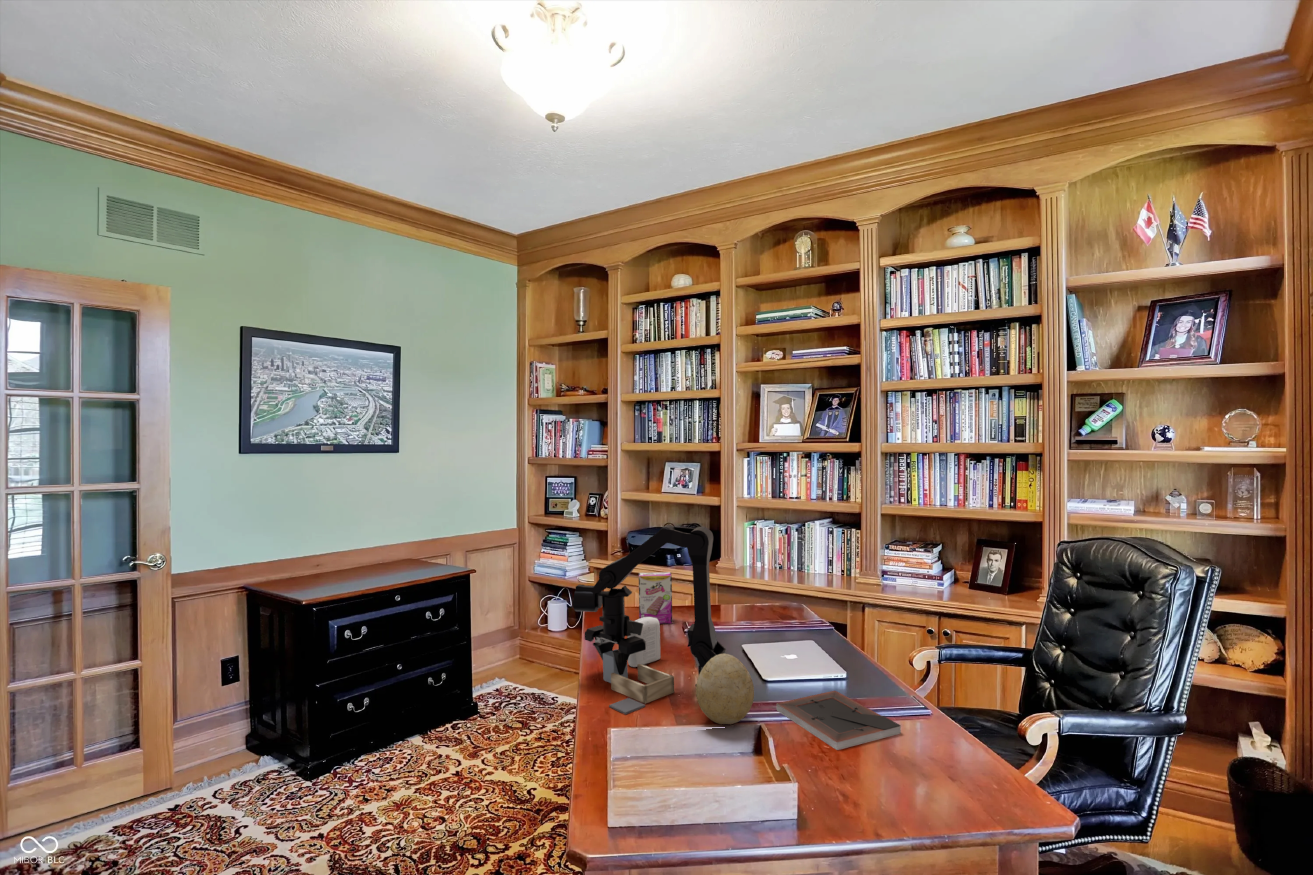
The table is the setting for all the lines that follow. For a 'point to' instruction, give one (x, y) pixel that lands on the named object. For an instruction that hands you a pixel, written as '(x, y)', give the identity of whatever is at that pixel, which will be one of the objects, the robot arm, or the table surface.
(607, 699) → the table surface
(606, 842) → the table surface
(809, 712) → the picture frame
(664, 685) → the u-shaped bracket
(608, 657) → the slate block
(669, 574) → the candy bar box
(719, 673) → the fossilized egg
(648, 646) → the white rounded slab
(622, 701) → the felt coaster
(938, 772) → the table surface
